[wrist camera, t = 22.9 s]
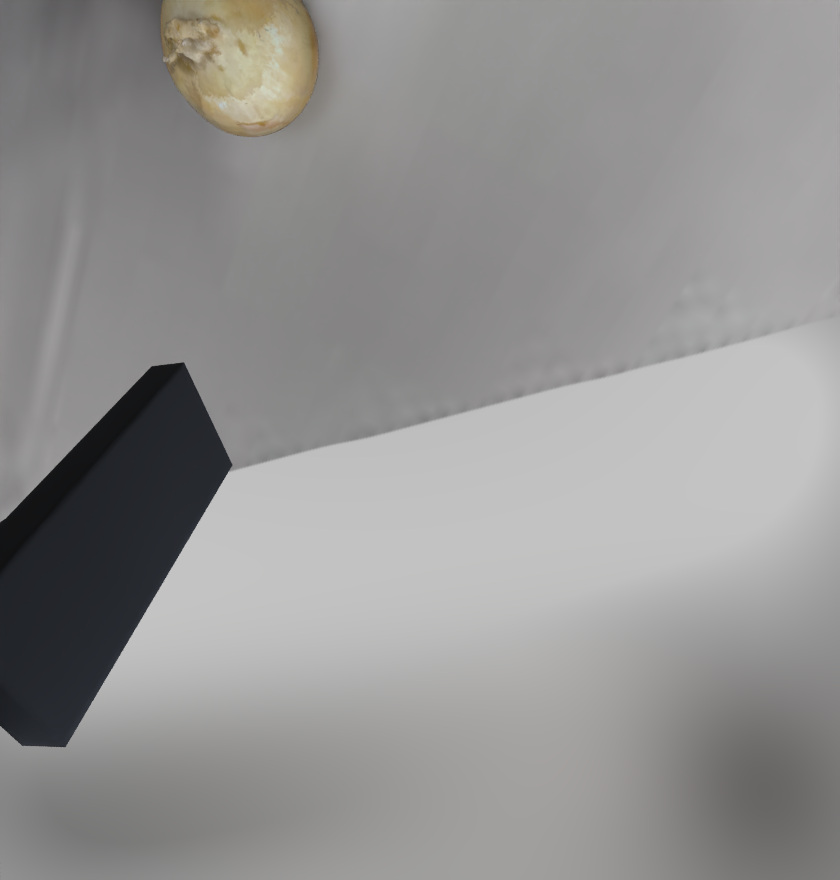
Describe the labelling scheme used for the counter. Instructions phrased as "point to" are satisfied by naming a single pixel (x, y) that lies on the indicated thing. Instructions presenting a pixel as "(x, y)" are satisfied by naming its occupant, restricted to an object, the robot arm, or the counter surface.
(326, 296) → the counter surface
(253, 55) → the onion
